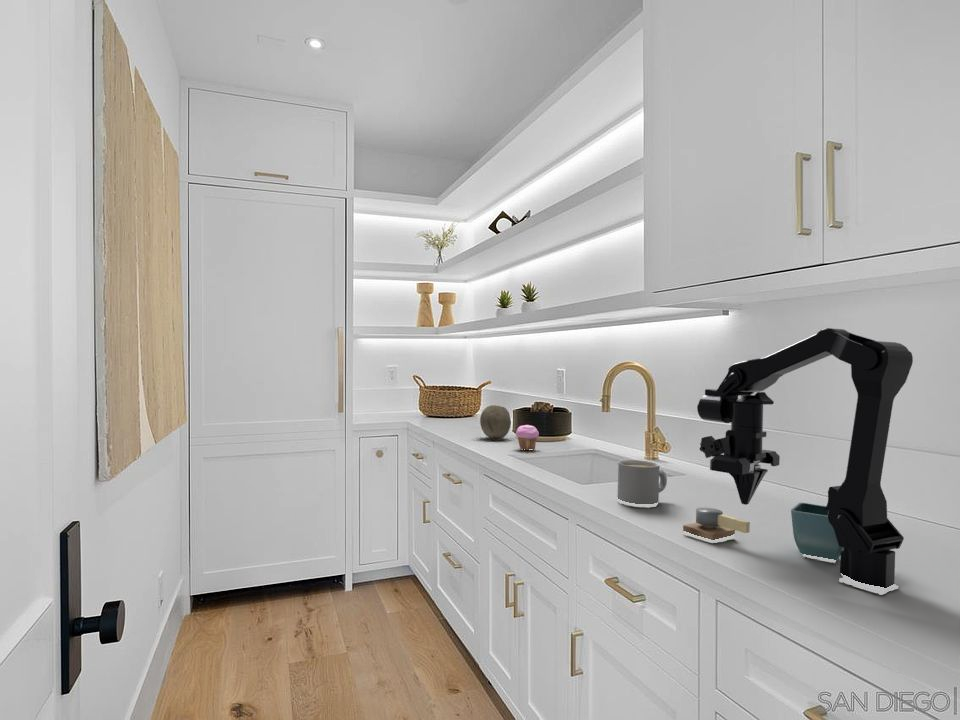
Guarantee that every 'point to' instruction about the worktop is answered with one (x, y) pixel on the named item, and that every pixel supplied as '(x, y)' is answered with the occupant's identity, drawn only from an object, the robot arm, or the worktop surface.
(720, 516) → the toy pan
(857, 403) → the robot arm
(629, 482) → the coffee mug
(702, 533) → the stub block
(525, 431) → the cupcake
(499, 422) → the cantaloupe
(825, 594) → the worktop surface
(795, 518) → the flower pot
